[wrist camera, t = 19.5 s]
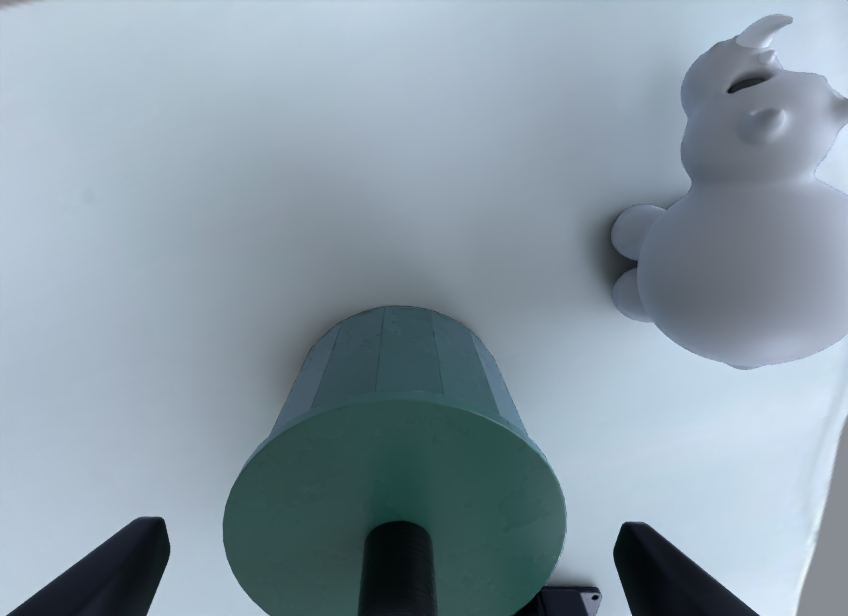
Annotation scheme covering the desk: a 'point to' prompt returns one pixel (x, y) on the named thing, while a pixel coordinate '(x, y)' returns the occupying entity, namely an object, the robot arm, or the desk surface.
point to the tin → (399, 362)
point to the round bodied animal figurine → (746, 215)
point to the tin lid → (395, 511)
